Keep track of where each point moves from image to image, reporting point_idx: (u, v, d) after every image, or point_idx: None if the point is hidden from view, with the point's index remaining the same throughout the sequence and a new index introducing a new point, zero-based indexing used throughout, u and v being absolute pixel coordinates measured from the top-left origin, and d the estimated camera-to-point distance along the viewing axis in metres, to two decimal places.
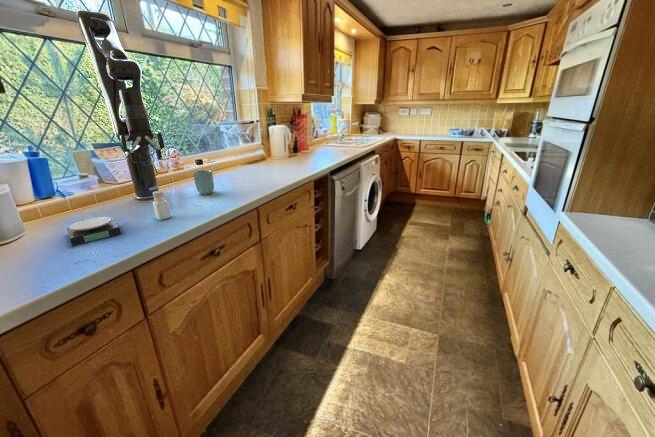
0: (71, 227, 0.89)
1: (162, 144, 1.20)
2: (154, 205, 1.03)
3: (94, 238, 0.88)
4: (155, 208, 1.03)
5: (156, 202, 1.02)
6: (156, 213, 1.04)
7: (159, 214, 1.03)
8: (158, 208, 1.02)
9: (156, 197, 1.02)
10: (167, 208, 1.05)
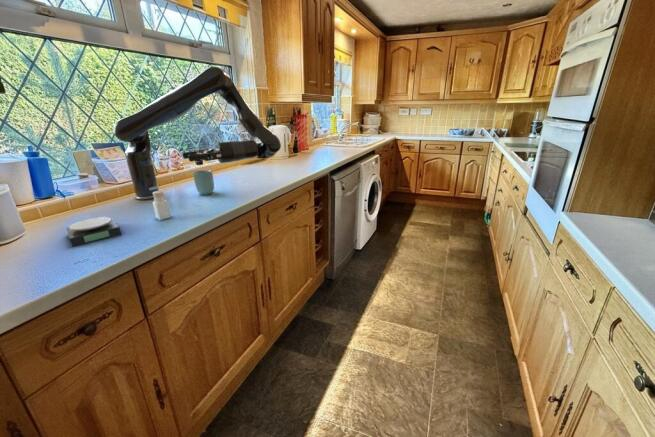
0: (71, 227, 0.89)
1: None
2: (154, 205, 1.03)
3: (94, 238, 0.88)
4: (155, 208, 1.03)
5: (156, 202, 1.02)
6: (156, 213, 1.04)
7: (159, 214, 1.03)
8: (158, 208, 1.02)
9: (156, 197, 1.02)
10: (167, 208, 1.05)
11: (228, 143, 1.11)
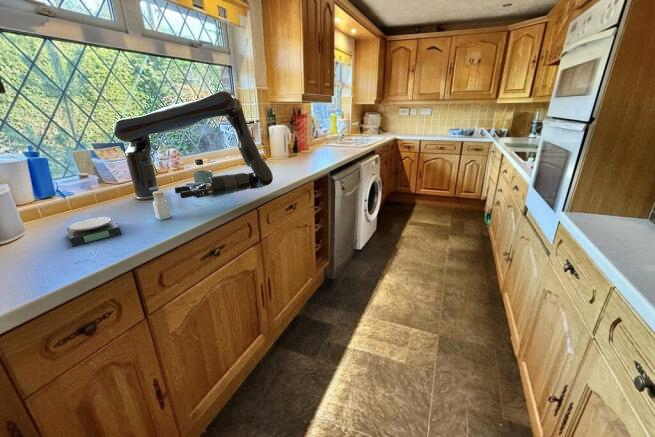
0: (71, 227, 0.89)
1: None
2: (154, 205, 1.03)
3: (94, 238, 0.88)
4: (155, 208, 1.03)
5: (156, 202, 1.02)
6: (156, 213, 1.04)
7: (159, 214, 1.03)
8: (158, 208, 1.02)
9: (156, 197, 1.02)
10: (167, 208, 1.05)
11: (220, 178, 1.13)
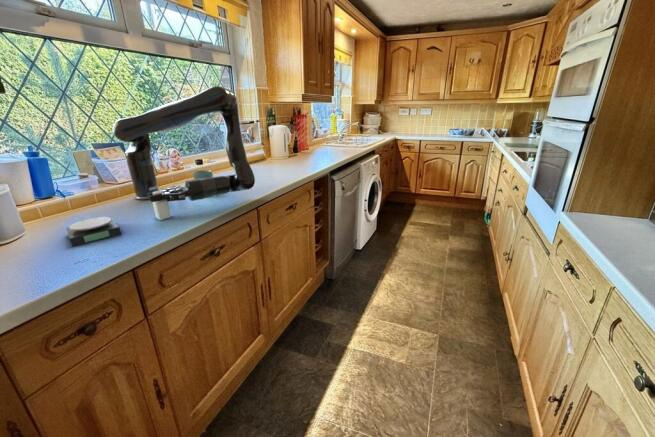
0: (71, 227, 0.89)
1: None
2: (154, 205, 1.03)
3: (94, 238, 0.88)
4: (155, 208, 1.03)
5: (156, 202, 1.02)
6: (156, 213, 1.04)
7: (159, 214, 1.03)
8: (158, 208, 1.02)
9: None
10: (167, 208, 1.05)
11: (198, 181, 1.08)
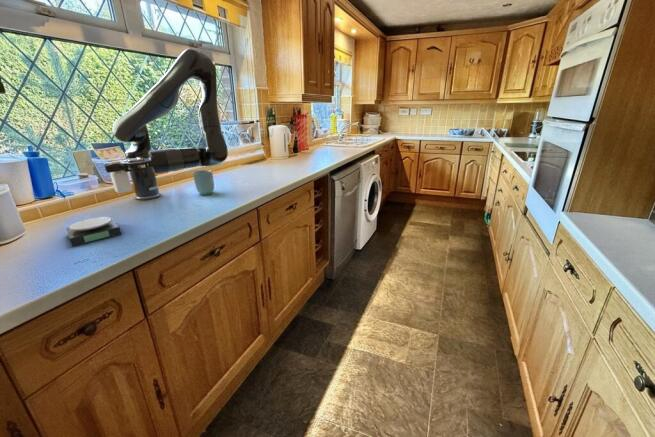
0: (71, 227, 0.89)
1: None
2: (111, 176, 0.93)
3: (94, 238, 0.88)
4: (113, 180, 0.93)
5: (113, 173, 0.92)
6: (114, 185, 0.94)
7: (117, 186, 0.93)
8: (116, 179, 0.92)
9: None
10: (127, 180, 0.94)
11: (162, 151, 0.98)
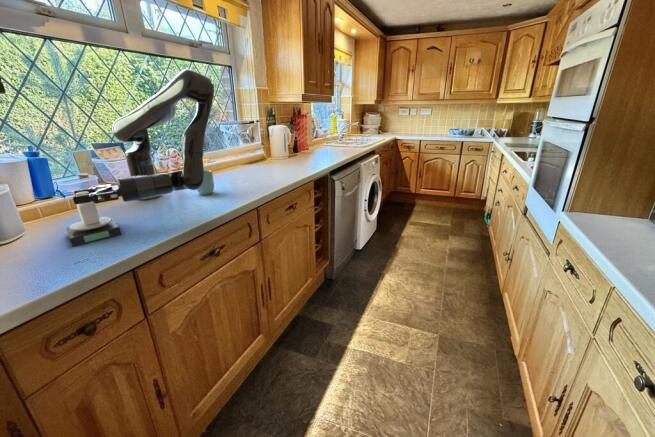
0: (71, 227, 0.89)
1: None
2: (78, 208, 0.89)
3: (94, 238, 0.88)
4: (79, 211, 0.89)
5: (79, 204, 0.88)
6: (81, 217, 0.90)
7: (84, 218, 0.89)
8: (82, 211, 0.88)
9: None
10: (94, 211, 0.91)
11: (131, 179, 0.94)
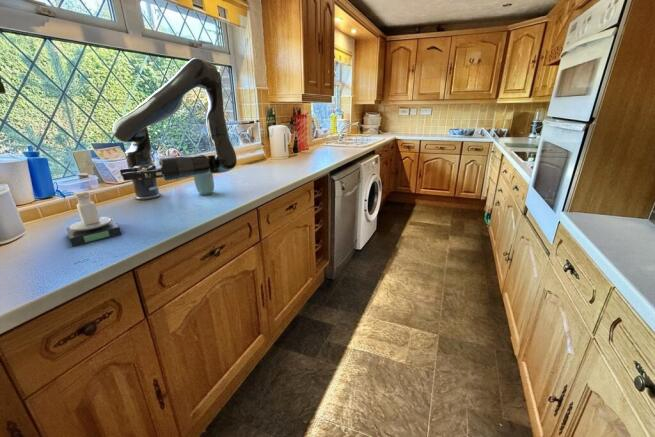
0: (71, 227, 0.89)
1: None
2: (78, 208, 0.89)
3: (94, 238, 0.88)
4: (79, 211, 0.89)
5: (79, 204, 0.88)
6: (81, 217, 0.90)
7: (84, 218, 0.89)
8: (82, 211, 0.88)
9: (79, 199, 0.88)
10: (94, 211, 0.91)
11: (173, 159, 1.00)
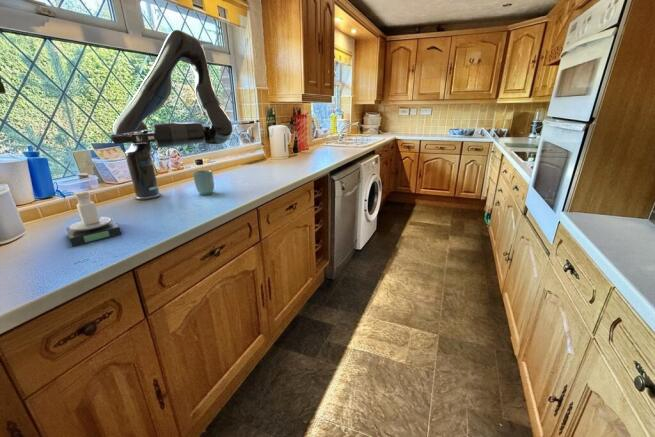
0: (71, 227, 0.89)
1: None
2: (78, 208, 0.89)
3: (94, 238, 0.88)
4: (79, 211, 0.89)
5: (79, 204, 0.88)
6: (81, 217, 0.90)
7: (84, 218, 0.89)
8: (82, 211, 0.88)
9: (79, 199, 0.88)
10: (94, 211, 0.91)
11: (166, 124, 0.96)
